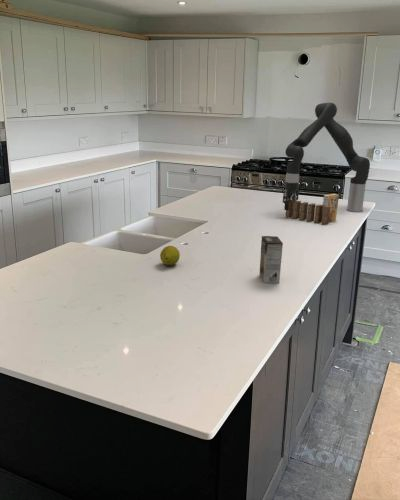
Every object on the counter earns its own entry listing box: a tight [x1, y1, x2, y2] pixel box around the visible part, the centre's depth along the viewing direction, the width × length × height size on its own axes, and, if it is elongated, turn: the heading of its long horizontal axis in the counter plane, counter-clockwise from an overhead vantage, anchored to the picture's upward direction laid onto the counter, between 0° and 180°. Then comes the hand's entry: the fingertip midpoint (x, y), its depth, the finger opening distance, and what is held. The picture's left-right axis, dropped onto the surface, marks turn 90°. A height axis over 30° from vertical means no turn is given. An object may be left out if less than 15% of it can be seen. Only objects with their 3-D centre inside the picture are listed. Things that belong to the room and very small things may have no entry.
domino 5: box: [313, 203, 323, 225], centre depth 286 cm, size 5×2×10 cm, turn 142°
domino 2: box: [291, 200, 302, 220], centre depth 293 cm, size 5×2×10 cm, turn 142°
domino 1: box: [285, 199, 294, 219], centre depth 296 cm, size 5×2×10 cm, turn 141°
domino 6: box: [320, 206, 331, 226], centre depth 283 cm, size 5×2×10 cm, turn 142°
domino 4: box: [306, 202, 317, 223], centre depth 288 cm, size 5×2×10 cm, turn 142°
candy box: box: [321, 193, 340, 223], centre depth 289 cm, size 9×4×15 cm, turn 129°
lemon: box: [159, 245, 181, 266], centre depth 209 cm, size 11×8×8 cm
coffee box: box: [258, 235, 284, 284], centre depth 196 cm, size 9×6×16 cm
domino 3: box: [299, 201, 309, 222], centre depth 291 cm, size 5×2×10 cm, turn 142°
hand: (289, 208), depth 296 cm, fingers open, 8 cm apart
